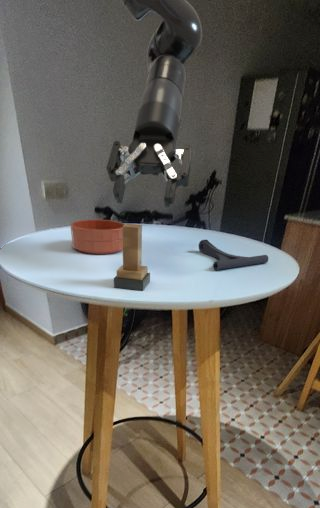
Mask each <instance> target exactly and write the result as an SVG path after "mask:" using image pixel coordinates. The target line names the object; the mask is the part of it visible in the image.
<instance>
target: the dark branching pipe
mask: <svg viewBox="0 0 320 508" xmlns="http://www.w3.org/2000/svg"><path fill="white" fill-rule="evenodd" d="M198 250H199V252H201V254H204V255H207V256H210V257H213V258H215V259H218V260H216V261H214V262H213V264H212V269H213V270H214V271H220V270H227V269H233V268H240V267H246V266H254V265H260V264H267V263H268V262H269V255H267V254H261V255H254V256H240V255H235V254H231V253H227V252H225V251H223V250H221V249H219V248H218V247H216V246H215V245H214V244H212V242H210V241H209V240H208V239H201V240H200V241H199V243H198Z"/></svg>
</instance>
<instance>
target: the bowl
mask: <svg viewBox="0 0 320 508" xmlns="http://www.w3.org/2000/svg"><path fill="white" fill-rule="evenodd" d="M125 224H126V223H123V222H121V221H118V220H110V219H80V220H76V221H75V220H74V221H73V222H71V223H70V224H69V225H70V226H69V227H70V238H71V246H72V247H73V248H74V249H76V250H77V251H79V252H81V253H84V254H89V255H90V254H91V255H111V254H116V253H117V254H118V253H120V252H121V251H122V252H123V231H122V226H124V225H125Z"/></svg>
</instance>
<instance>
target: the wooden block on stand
mask: <svg viewBox="0 0 320 508" xmlns="http://www.w3.org/2000/svg"><path fill="white" fill-rule="evenodd" d="M124 224H125V225H124V226H122V231H123V249H122V264H121V266H119V268H117V269H116V276H114V277H113V288H116V289H127V290H133V291H134V290H135V291H144V290H145V289H146V288H147V286H148V285H149V283H150V282H151V272H148V268H149V267H148V265H143V264H142V257H143V255H142V252H143V243H142V242H143V224H140V223H139V224H138V223H124Z"/></svg>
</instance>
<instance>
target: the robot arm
mask: <svg viewBox="0 0 320 508" xmlns="http://www.w3.org/2000/svg"><path fill="white" fill-rule="evenodd" d="M119 1H120V3H121V4H122V6H123V7H124V8H125V10H126V11H127V14H129V16H130V17H131V18H132V19H133V20H134V21H135V22H142V21H143V20H144V19H145V18H147V16H148V15H149V14H150V13H154V14H155V15H158V16H159V17H160V18H161V19H162V21H161V22H160V23H159V25H158V27H157V28H156V29H155V31H154V32H153V34H152V36H151V38H150V39H149V42H148V47H147V50H146V69H147V77H146V81H145V82H146V83H145V86H144V90H143V93H142V96H141V99H140V102H139V108H138V112H137V117H136V121H135V126H134V131H133V136H132V141H131V143H130V144H129V145H122V144H121V142H120V141H119V140H115V141H114V142H113V144H112V146H111V147H112V148H111V151H110V154H109V158H108V161H107V165H106V171H107V175H108V178H109V180H110V181H111V182H114V183H113V188H112V193H113V196H114V199H115V200H116V202H117V204H123V200H124V196H125V191H126V184H127V183H128V182H129V181H131V179H132V180H134V179H135V178H136V177H137V176H138V175H143V176H144V175H153V176H159V175H160V174H161V175H162V177H163V178H164V180H165V182H166V186H165V192H164V196H163V202H164V207H165V208H170V207H171V206H170V205H173V204H174V203H175V199H176V193H177V189H178V188H179V187H180V186H181V187H183V188H186V187H188V186H189V183H190V182H189V181H190V175H191V165H192V148H191V145H190V144H185V145H183V148H177V147H176V146H177V145H176V144H177V140H178V136H179V129H180V126H181V121H182V112H183V102H184V97H185V90H186V84H187V72H186V68H185V65H186V64H187V62H188V61H189V60H190V58H191V57H192V56H193V55H194V54H195V53H196V52H197V50H198V48H199V47H200V45H201V43H202V41H203V26H202V22H201V20H200V17H199V14H198V13H197V11H196V10H195V8H194V7H193V5H192V4H190V2H188V0H119ZM176 159H177V160H178V162H179V164H181V169H180V172H178V173H177V172H176V171H175V169H174V167H173V165H172V164H173V163H174V162H175V161H176ZM122 162H123V163H122ZM121 164H122V165H121Z"/></svg>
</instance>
